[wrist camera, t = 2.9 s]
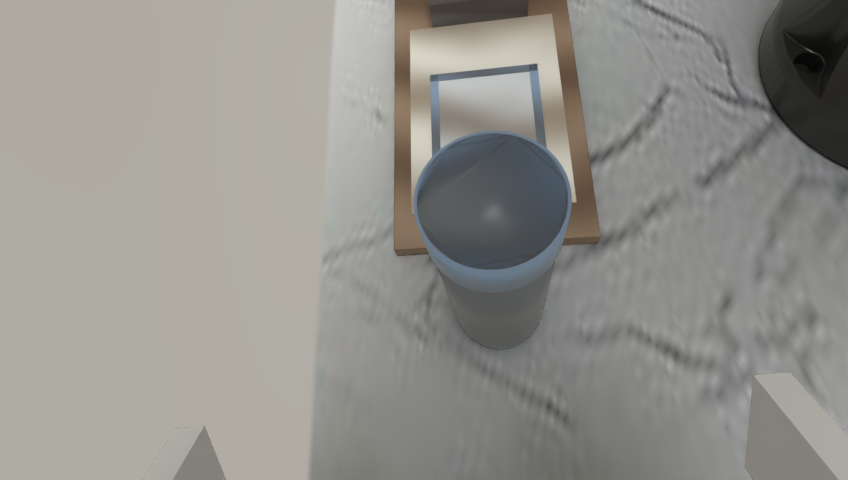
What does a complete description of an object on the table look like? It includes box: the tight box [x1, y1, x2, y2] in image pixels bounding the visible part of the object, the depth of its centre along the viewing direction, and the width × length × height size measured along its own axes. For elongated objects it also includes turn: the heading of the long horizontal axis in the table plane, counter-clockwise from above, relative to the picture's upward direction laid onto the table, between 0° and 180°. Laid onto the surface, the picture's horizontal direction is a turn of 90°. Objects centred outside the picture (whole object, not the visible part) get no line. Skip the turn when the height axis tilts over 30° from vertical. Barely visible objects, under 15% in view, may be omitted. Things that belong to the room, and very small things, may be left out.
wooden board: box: [394, 0, 600, 256], centre depth 33 cm, size 22×11×3 cm, turn 1°
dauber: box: [413, 130, 572, 349], centre depth 22 cm, size 5×5×14 cm
